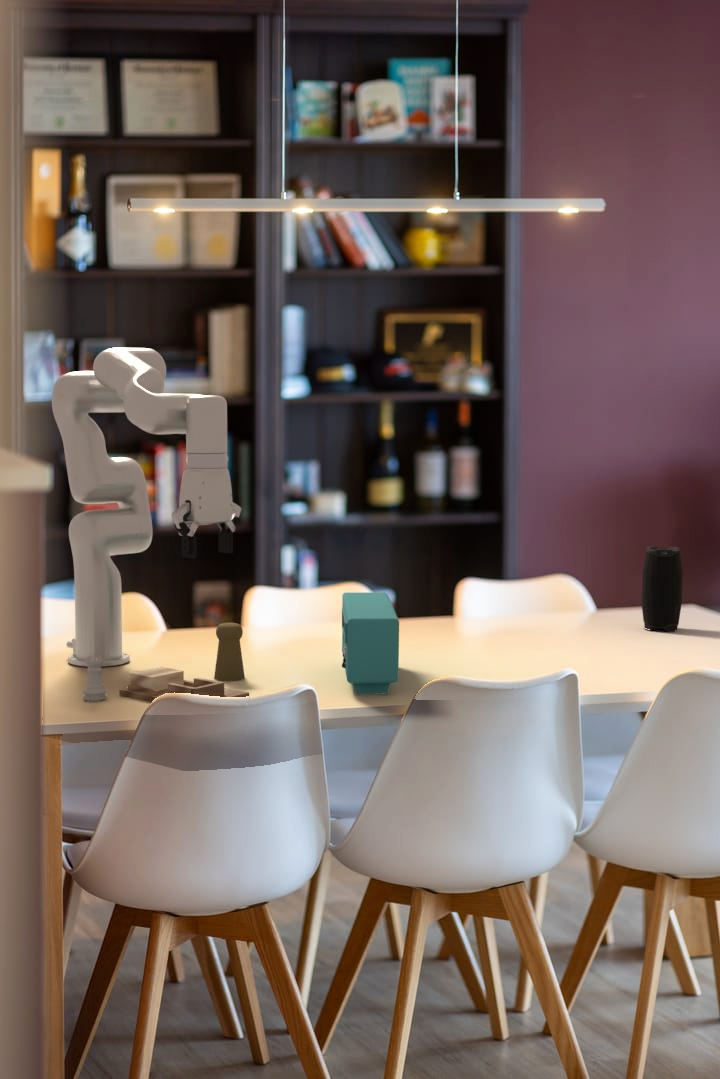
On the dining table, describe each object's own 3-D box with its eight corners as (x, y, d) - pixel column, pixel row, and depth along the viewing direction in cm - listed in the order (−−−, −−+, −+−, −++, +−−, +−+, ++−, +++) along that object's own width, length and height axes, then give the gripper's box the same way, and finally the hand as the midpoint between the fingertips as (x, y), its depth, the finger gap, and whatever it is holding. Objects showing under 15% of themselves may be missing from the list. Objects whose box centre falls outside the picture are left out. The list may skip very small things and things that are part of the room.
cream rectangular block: (130, 687, 277) (129, 673, 277) (161, 681, 283) (161, 666, 283) (151, 692, 273) (151, 677, 273) (183, 685, 279) (183, 670, 279)
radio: (337, 663, 309) (338, 592, 307) (387, 663, 309) (388, 591, 308) (342, 698, 275) (343, 618, 273) (398, 698, 276) (399, 618, 274)
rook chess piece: (84, 697, 275) (83, 654, 274) (108, 696, 275) (108, 654, 274) (81, 702, 270) (80, 659, 270) (105, 702, 271) (105, 659, 270)
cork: (245, 675, 296) (245, 620, 294) (244, 681, 290) (244, 625, 288) (215, 675, 295) (214, 620, 294) (213, 681, 289) (212, 625, 288)
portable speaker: (634, 627, 354) (636, 546, 352) (668, 625, 357) (671, 545, 355) (653, 633, 346) (655, 550, 344) (687, 631, 349) (690, 548, 347)
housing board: (119, 695, 276) (119, 677, 276) (174, 684, 287) (174, 666, 286) (194, 711, 263) (194, 692, 263) (249, 698, 274) (249, 680, 274)
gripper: (224, 460, 282) (224, 549, 284) (158, 463, 268) (159, 558, 270) (253, 461, 277) (254, 552, 279) (188, 465, 264) (189, 561, 265)
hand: (207, 555), depth 274 cm, fingers open, 9 cm apart
